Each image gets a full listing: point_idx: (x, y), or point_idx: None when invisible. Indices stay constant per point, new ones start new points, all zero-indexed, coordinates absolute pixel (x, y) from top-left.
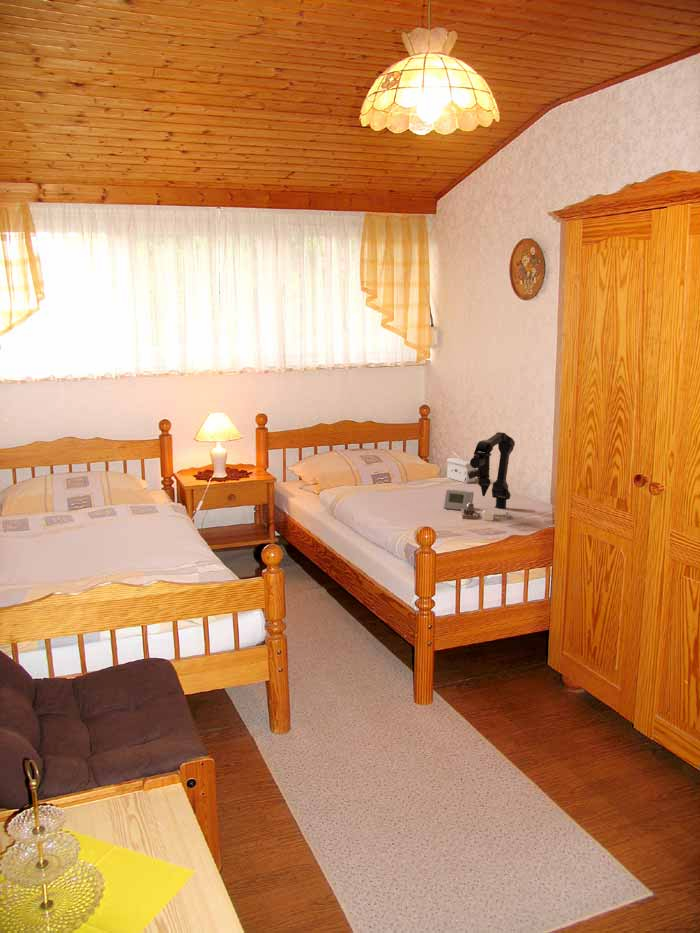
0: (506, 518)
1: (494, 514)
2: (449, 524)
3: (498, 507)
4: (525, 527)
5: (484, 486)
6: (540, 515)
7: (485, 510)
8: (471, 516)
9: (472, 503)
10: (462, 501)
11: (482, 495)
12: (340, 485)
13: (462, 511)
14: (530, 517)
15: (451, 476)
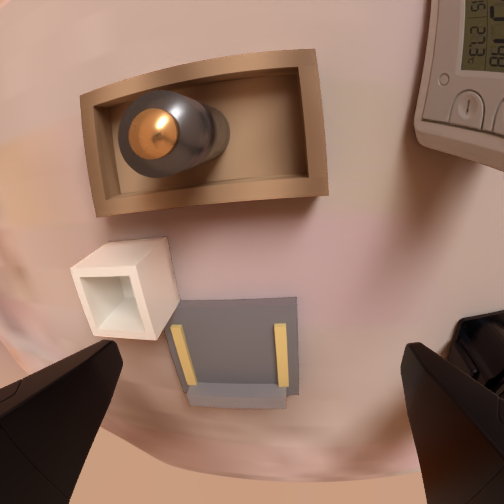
0: (187, 381)
1: (275, 327)
2: (20, 60)
3: (463, 343)
4: (112, 413)
5: (7, 462)
6: (339, 471)
7: (137, 287)
8: (91, 163)
9: (185, 158)
10: (476, 65)
11: (98, 343)
12: None
13: (205, 62)
14: (299, 453)
15: None
